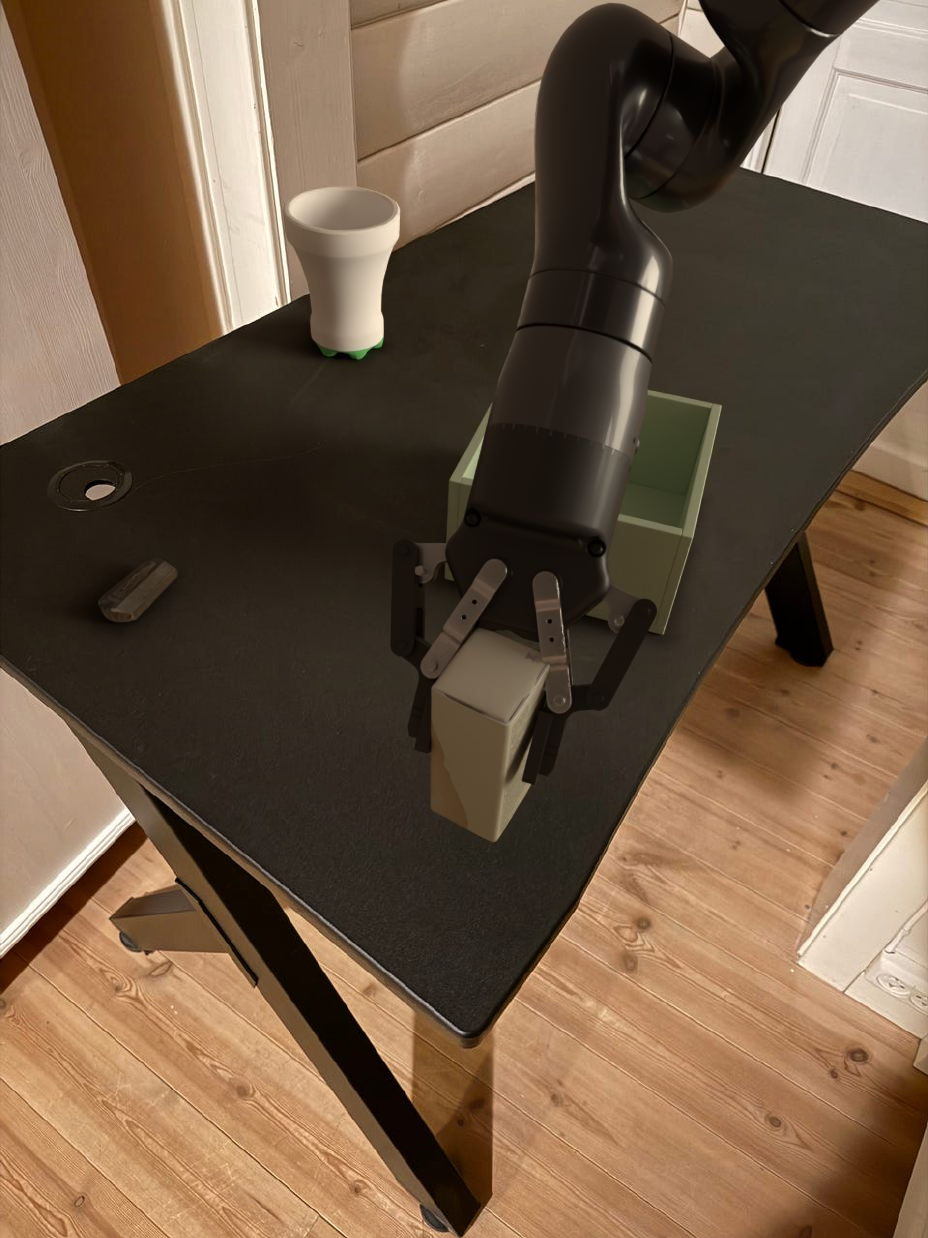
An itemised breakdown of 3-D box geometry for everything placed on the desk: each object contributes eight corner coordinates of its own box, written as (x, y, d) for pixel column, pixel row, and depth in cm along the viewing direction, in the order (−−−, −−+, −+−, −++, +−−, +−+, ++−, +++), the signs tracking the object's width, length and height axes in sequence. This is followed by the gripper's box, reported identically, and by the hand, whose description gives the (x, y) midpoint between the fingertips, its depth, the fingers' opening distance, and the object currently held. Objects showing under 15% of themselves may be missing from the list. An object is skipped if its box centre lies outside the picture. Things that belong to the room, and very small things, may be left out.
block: (182, 581, 70) (178, 564, 69) (129, 631, 67) (124, 614, 65) (146, 566, 71) (141, 548, 70) (91, 613, 68) (85, 596, 66)
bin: (694, 499, 81) (722, 404, 74) (663, 635, 69) (692, 538, 62) (504, 456, 84) (514, 361, 77) (444, 579, 72) (448, 480, 65)
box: (472, 747, 54) (482, 618, 46) (537, 779, 52) (559, 651, 44) (425, 813, 50) (428, 686, 42) (493, 849, 49) (509, 725, 41)
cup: (421, 340, 98) (424, 206, 87) (353, 383, 91) (347, 243, 81) (342, 307, 102) (336, 175, 92) (272, 345, 95) (257, 208, 85)
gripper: (407, 391, 43) (321, 736, 44) (709, 456, 40) (613, 822, 41) (440, 426, 50) (367, 720, 51) (697, 482, 48) (617, 792, 48)
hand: (477, 764), depth 46 cm, fingers closed on box, 5 cm apart
